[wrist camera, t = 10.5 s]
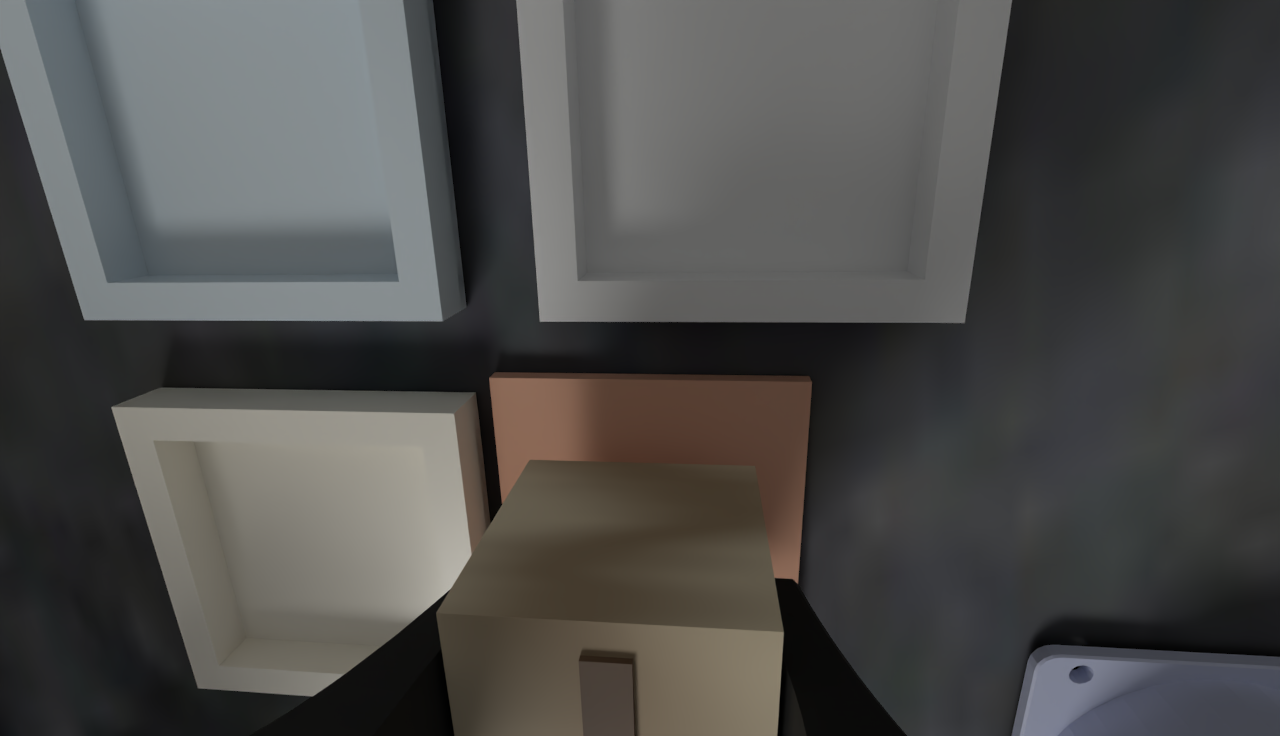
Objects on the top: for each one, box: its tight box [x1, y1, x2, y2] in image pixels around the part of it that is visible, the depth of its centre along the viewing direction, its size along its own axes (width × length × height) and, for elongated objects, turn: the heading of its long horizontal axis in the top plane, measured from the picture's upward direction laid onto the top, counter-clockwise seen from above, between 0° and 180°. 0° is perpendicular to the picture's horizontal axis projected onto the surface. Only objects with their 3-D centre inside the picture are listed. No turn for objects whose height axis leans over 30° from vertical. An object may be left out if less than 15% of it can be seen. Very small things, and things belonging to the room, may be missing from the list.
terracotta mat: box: [489, 372, 812, 584], centre depth 14 cm, size 7×7×1 cm
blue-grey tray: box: [0, 0, 467, 321], centre depth 12 cm, size 8×8×1 cm
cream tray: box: [111, 388, 491, 696], centre depth 15 cm, size 8×8×1 cm
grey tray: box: [516, 0, 1012, 323], centre depth 11 cm, size 8×8×1 cm
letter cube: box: [436, 460, 784, 736], centre depth 11 cm, size 4×4×5 cm
